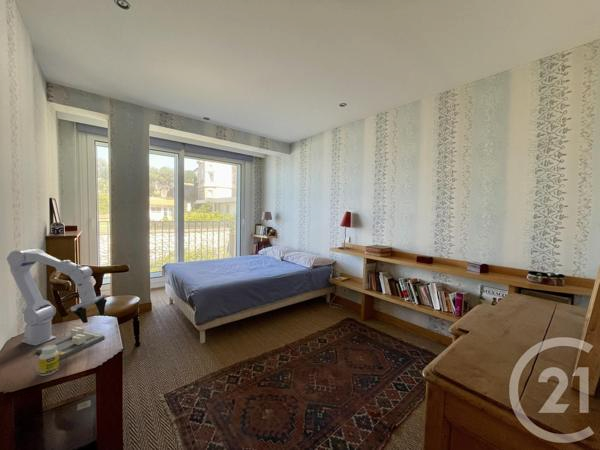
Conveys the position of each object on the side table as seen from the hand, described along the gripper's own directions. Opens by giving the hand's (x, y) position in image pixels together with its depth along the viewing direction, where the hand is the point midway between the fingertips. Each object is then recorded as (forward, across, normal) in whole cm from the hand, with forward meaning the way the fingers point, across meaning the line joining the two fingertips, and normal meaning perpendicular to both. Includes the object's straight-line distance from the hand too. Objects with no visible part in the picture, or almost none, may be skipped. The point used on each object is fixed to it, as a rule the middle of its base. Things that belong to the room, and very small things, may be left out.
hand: (94, 318), depth 118 cm
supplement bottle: (+11, -23, -5) cm, 26 cm away
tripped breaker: (+8, -7, +3) cm, 11 cm away
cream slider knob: (+6, -2, +11) cm, 12 cm away
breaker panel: (+9, -7, +7) cm, 13 cm away
